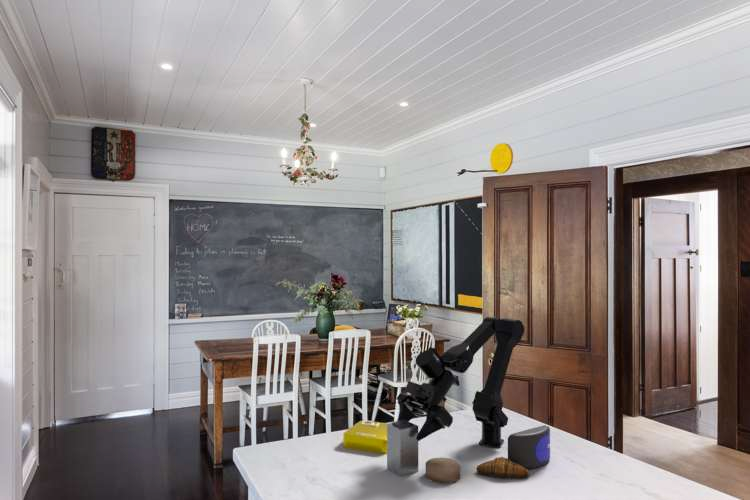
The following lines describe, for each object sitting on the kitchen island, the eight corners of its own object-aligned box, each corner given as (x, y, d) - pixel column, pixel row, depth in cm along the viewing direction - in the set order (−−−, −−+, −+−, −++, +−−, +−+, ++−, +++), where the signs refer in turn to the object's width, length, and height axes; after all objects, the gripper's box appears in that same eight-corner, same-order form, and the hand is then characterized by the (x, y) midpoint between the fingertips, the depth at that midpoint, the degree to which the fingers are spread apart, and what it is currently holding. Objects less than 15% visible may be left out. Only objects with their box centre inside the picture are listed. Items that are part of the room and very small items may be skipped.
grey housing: (404, 463, 140) (404, 418, 140) (418, 471, 135) (418, 424, 135) (387, 468, 137) (387, 422, 137) (400, 476, 132) (400, 428, 132)
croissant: (528, 472, 135) (527, 453, 135) (530, 483, 128) (530, 463, 128) (476, 468, 137) (476, 450, 137) (476, 479, 131) (476, 459, 131)
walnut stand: (432, 466, 138) (432, 455, 138) (464, 472, 134) (464, 461, 134) (420, 479, 130) (420, 467, 130) (454, 486, 126) (454, 474, 126)
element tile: (340, 448, 152) (341, 432, 152) (360, 432, 166) (360, 418, 166) (387, 455, 146) (387, 439, 147) (404, 438, 160) (404, 423, 160)
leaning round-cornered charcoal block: (519, 475, 133) (519, 438, 133) (506, 468, 137) (506, 433, 137) (559, 461, 141) (559, 427, 142) (545, 456, 145) (545, 423, 145)
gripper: (401, 364, 148) (370, 408, 141) (444, 376, 132) (411, 426, 126) (422, 388, 152) (392, 431, 146) (466, 402, 137) (435, 452, 130)
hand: (406, 434), depth 137 cm, fingers open, 9 cm apart
